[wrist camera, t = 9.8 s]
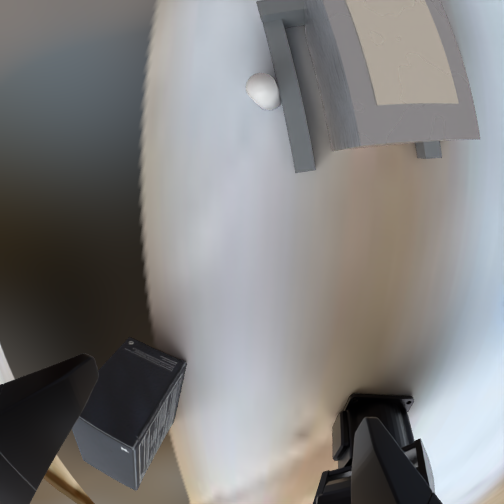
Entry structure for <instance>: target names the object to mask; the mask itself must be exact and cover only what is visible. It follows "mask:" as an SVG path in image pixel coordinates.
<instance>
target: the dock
mask: <svg viewBox="0 0 504 504" xmlns="http://www.w3.org/2000/svg"><path fill="white" fill-rule="evenodd" d="M256 3H257V6H258V10H259V14H260V17H261V20H262V22H263V26H264V30H265V33H266V37H267V41H268V45H269V49H270V53H271V57H272V62H273V66H274V70H275V74H276V79H277V83H278V87H277V84H276V82H275V80H274V79H273V77H272V76H270V75H268V74H266V73H257V74H254V75H253V76H251V77H250V78H249V79H248V81H247V83H246V91H247V94H248V95H249V96H250V97H251V98H252V99H253V100H254V101H255V102H256V103H257V104H258V105H259V106H260V107H261V108H262V109H264V110H274V109H276V108H278V107H279V105H280V104H281V101H282V106H283V111H284V115H285V120H286V125H287V130H288V135H289V140H290V145H291V151H292V156H293V162H294V167H295V173H299V172H306V171H313V170H316V168H315V162H314V156H313V151H312V145H311V140H310V135H309V130H308V125H307V120H306V115H305V110H304V106H303V101H302V96H301V92H300V88H299V83H298V79H297V75H296V71H295V67H294V63H293V59H292V55H291V51H290V47H289V43H288V39H287V36H286V32H285V29H284V28H288V27H294V26H302V25H305V8H304V0H262V1H257V2H256ZM278 88H279V89H278ZM415 144H416V151H417V158H423V159H429V158H442V153H441V146H440V141H432V142H419V143H415Z"/></svg>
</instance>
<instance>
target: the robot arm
mask: <svg viewBox="0 0 504 504" xmlns="http://www.w3.org/2000/svg"><path fill="white" fill-rule="evenodd" d="M98 376H99V374H98V370H97V366H96V362H95V359H94V358H93V357H92V356H90V355H87V354H80V355H78V356H75V357H73V358H70V359H67V360H65V361H62V362H60V363H58V364H55V365H52V366H49V367H47V368H44V369H42V370H39V371H37V372H34V373H31V374H28V375H26V376H23V377H20V378H18V379H15V380H12V381H10V382H7V383H4V385H3V384H1V385H0V504H30V502H31V500H32V498H33V496H34V494H35V492H36V490H37V488H38V486H39V485H40V483H41V481H42V479H43V477H44V476H45V474H46V472H47V470H48V468H49V467H50V465H51V463H52V461H53V460H54V458H55V456H56V454H57V453H58V451H59V449H60V447H61V446H62V444H63V442H64V441H65V439H66V437H67V436H68V434H69V432H70V431H71V429H72V428H73V426H74V424H75V423H76V421H77V419H78V418H79V416H80V414H81V413H82V411H83V409H84V407H85V405H86V403H87V401H88V399H89V397H90V394H91V392H92V390H93V388H94V386H95V384H96V382H97V380H98ZM413 402H414V400H413V397H412V396H388V395H369V394H352V395H351V396H350V397H349V399H348V401H347V403H346V406H345V408H344V410H343V411H341V412H340V413H339V415H338V417H337V419H336V421H335V423H334V425H333V427H332V438H333V459H334V460H335V461H338V469H336V470H332V471H329V470H328V471H324V472H323V473H322V476H321V480H320V483H319V486H318V489H317V492H316V496H315V499H314V502H313V504H442V502H441V501H440V500H439V499H438V497H437V496H436V495H435V488H434V477H433V473H432V469H431V465H430V461H429V458H428V455H427V453H426V450H425V448H424V446H423V443H422V441H421V439H418V440H416V441H414V437H413V433H412V429H411V425H410V421H409V417H408V414H407V412H408V411H409V409H410V407H411V406H412V404H413Z"/></svg>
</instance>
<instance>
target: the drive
mask: <svg viewBox="0 0 504 504" xmlns="http://www.w3.org/2000/svg"><path fill="white" fill-rule="evenodd" d="M304 8H305V36H306V41H307V45H308V48H309V52H310V56H311V59H312V63H313V67H314V71H315V75H316V79H317V83H318V87H319V91H320V95H321V100H322V104H323V109H324V113H325V118H326V123H327V128H328V133H329V138H330V143H331V149H332V151H339V150H347V149H355V148H365V147H374V146H385V145H397V144H408V143H419V142H432V141H448V140H470V139H480V134H479V128H478V122H477V117H476V111H475V107H474V102H473V97H472V93H471V89H470V85H469V81H468V77H467V74H466V70H465V67H464V63H463V60H462V57H461V54H460V51H459V48H458V45H457V42H456V39H455V36H454V33H453V31H452V28H451V26H450V23H449V21H448V18H447V16H446V13H445V11H444V9H443V7H442V4H441V2H440V0H304Z"/></svg>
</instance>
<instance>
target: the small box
mask: <svg viewBox="0 0 504 504" xmlns="http://www.w3.org/2000/svg"><path fill="white" fill-rule="evenodd" d="M186 365H187V363H185V362H184V361H182V360H180V359H177V358H174V357H172V356H170V355H167V354H165V353H163V352H161V351H159V350H156V349H154V348H152V347H150V346H148V345H146V344H144V343H142V342H140V341H138V340H135V339H133V338H130V337H129V338H128V339H127V340H126V341H125V342H124V343H123V344H122V345H121V347H120V348H119V349H118V350H117V351H116V352H115V353H114V354H113V355H112V357H111V358H110V359H109V360H108V361H107V362H106V363H105V364H104V365H103V366H102V367H101V368H100V369H99V371H98V374H99V376H98V380H97V382H96V384H95V386H94V388H93V390H92V392H91V394H90V397H89V399H88V401H87V403H86V405H85V407H84V409H83V411H82V413H81V414H80V416H79V418H78V419H77V421H76V423H75V424H74V426H73V428H72V431H73V434H74V436H75V439H76V442H77V445H78V447H79V450H80V452H81V455H82V458H83V460H84V461H85V462H87V463H88V464H90V465H91V466H93V467H95V468H96V469H98V470H100V471H101V472H103V473H105V474H106V475H108V476H110V477H111V478H113V479H115V480H117V481H119V482H120V483H122V484H124V485H126V486H128V487H130V488H132V489H133V490H137V489H138V488H139V485H140V483H141V481H142V479H143V477H144V475H145V473H146V470H147V469H148V467H149V465H150V463H151V462H152V460H153V458H154V456H155V454H156V452H157V450H158V449H159V447H160V445H161V443H162V441H163V440H164V437H165V436H166V434H167V432H168V431H169V429H170V427H171V426H172V424H173V422H174V419H175V415H176V410H177V407H178V401H179V396H180V393H181V388H182V383H183V379H184V374H185V369H186Z"/></svg>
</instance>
